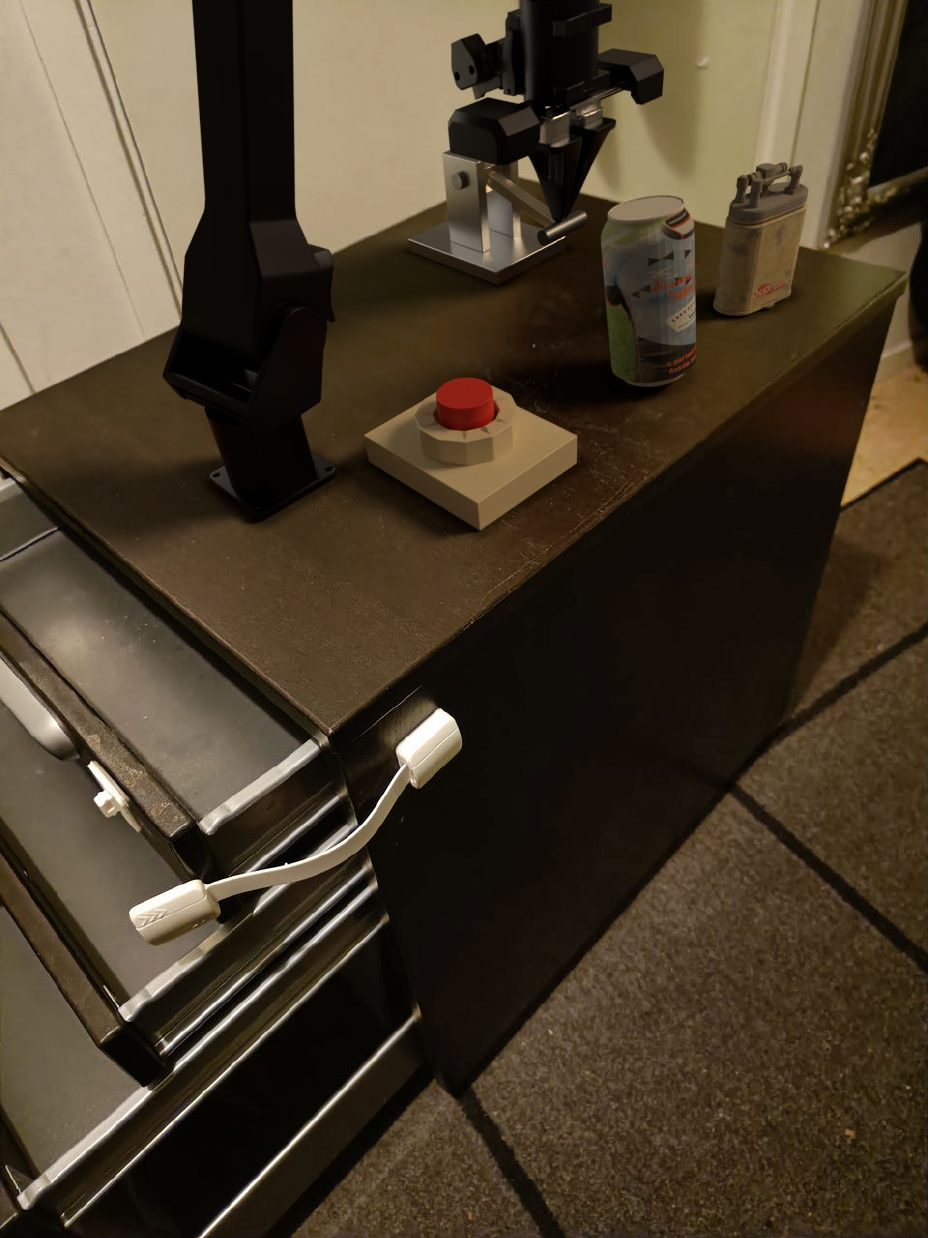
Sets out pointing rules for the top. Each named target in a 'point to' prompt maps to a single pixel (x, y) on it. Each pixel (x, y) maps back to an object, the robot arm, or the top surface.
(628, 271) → the beverage can
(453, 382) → the button
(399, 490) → the top surface
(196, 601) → the top surface
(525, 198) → the lever
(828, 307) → the top surface
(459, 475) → the button box
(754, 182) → the lighter
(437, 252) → the bracket
